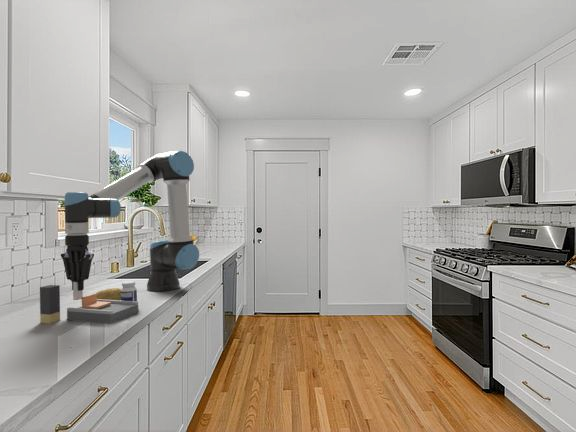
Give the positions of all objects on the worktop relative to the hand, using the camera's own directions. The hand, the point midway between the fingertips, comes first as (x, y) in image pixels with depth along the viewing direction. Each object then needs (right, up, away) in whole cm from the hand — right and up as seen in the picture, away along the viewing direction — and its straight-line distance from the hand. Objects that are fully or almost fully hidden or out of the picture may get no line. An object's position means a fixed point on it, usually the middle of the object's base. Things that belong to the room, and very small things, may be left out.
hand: (78, 299), depth 136 cm
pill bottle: (+15, -5, +8) cm, 18 cm away
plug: (-4, -6, -9) cm, 11 cm away
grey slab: (+11, -5, -3) cm, 13 cm away
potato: (+4, -6, +14) cm, 16 cm away
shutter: (+8, -2, -2) cm, 8 cm away
